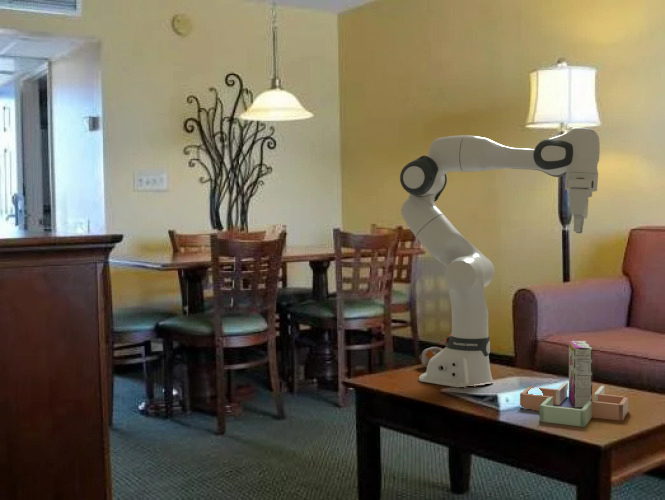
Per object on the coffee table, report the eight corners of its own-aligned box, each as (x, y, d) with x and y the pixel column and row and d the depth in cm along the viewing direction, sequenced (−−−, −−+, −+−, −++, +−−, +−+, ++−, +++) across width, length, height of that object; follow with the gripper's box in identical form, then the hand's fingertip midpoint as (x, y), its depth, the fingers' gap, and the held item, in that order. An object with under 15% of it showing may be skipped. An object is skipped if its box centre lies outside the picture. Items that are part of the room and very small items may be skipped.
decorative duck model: (419, 344, 273) (463, 344, 270) (420, 366, 273) (464, 367, 269) (414, 348, 259) (461, 348, 255) (415, 371, 258) (461, 371, 255)
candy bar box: (567, 398, 223) (568, 340, 222) (585, 398, 223) (586, 340, 222) (573, 408, 212) (574, 347, 211) (592, 408, 212) (593, 347, 211)
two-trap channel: (509, 417, 203) (510, 402, 202) (537, 393, 229) (537, 379, 229) (616, 430, 191) (617, 414, 190) (633, 403, 217) (633, 389, 217)
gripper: (572, 187, 238) (569, 233, 238) (567, 180, 219) (563, 230, 219) (594, 188, 236) (591, 234, 236) (591, 181, 217) (587, 231, 217)
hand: (577, 232), depth 227 cm, fingers open, 8 cm apart
